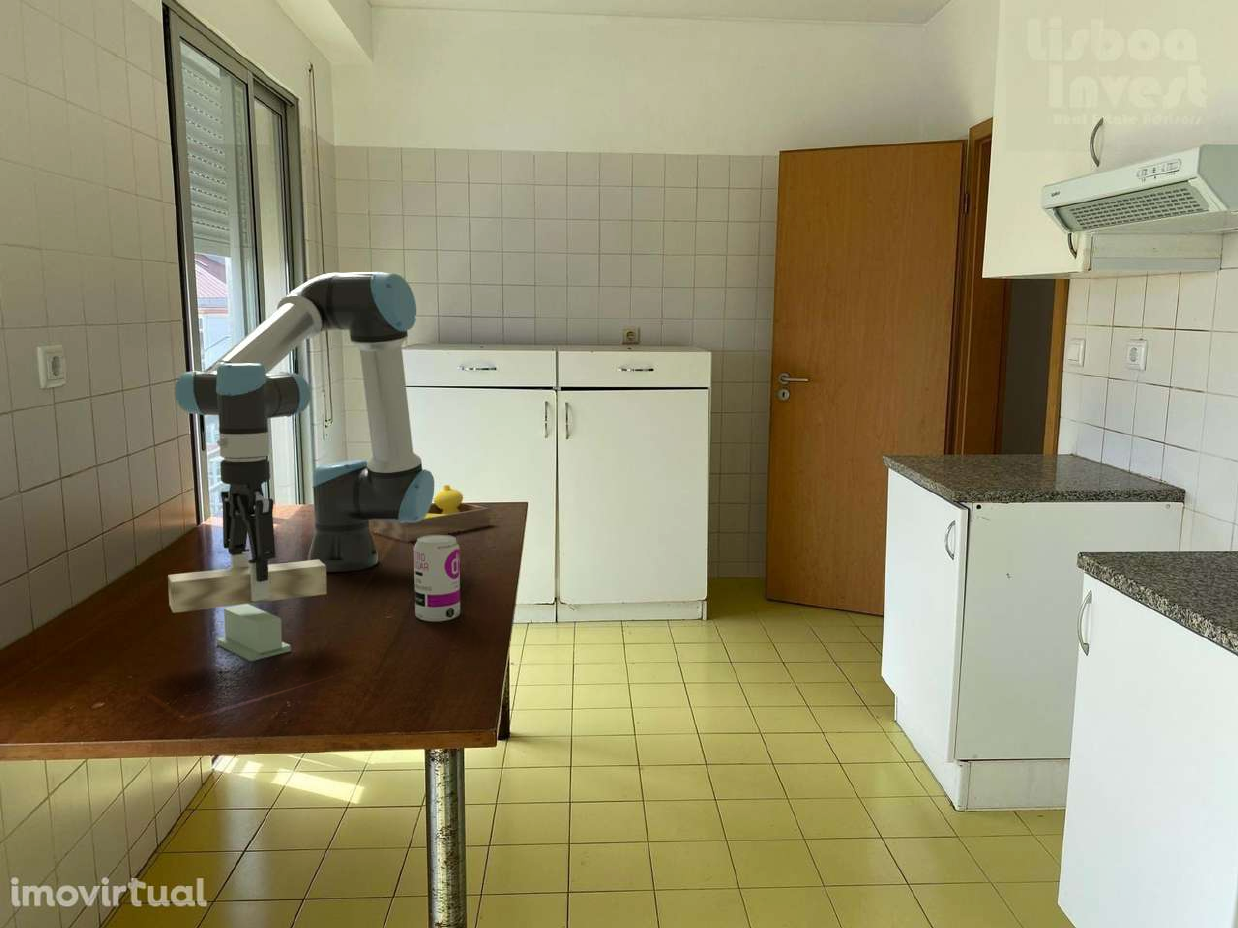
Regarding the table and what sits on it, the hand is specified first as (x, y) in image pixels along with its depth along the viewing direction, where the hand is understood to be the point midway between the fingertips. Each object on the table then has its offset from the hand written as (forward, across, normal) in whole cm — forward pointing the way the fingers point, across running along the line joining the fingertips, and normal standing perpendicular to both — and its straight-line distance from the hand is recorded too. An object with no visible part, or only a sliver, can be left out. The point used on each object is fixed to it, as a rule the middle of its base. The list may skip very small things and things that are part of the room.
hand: (250, 595), depth 161 cm
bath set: (+9, -56, +79) cm, 97 cm away
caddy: (+9, -53, +75) cm, 92 cm away
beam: (+1, 0, 0) cm, 1 cm away
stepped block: (+9, 0, 0) cm, 9 cm away
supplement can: (+9, +8, +32) cm, 34 cm away
